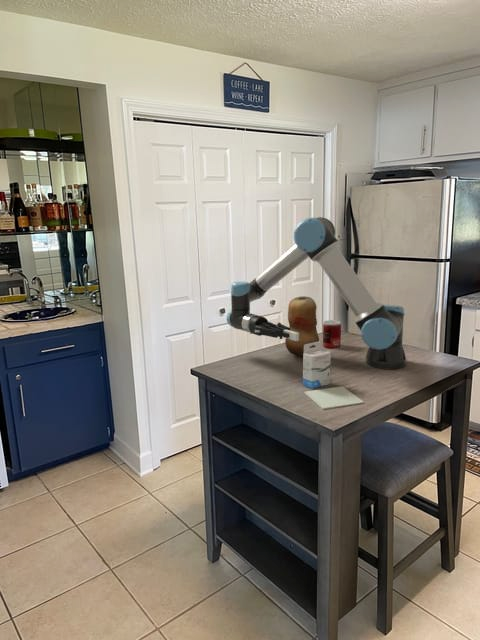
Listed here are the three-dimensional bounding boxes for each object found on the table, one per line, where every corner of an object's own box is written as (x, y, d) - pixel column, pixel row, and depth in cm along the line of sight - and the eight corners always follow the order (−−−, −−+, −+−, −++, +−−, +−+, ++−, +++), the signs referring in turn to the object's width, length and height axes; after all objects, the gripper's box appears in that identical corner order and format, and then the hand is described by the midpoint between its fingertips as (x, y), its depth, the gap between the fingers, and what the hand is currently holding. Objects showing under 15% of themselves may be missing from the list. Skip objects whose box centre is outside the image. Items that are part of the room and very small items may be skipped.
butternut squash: (283, 360, 188) (282, 300, 182) (287, 351, 200) (287, 294, 195) (317, 362, 184) (318, 300, 179) (320, 352, 197) (320, 294, 191)
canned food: (342, 344, 208) (342, 320, 205) (338, 349, 201) (338, 325, 198) (325, 343, 211) (325, 319, 208) (320, 348, 204) (321, 323, 201)
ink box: (312, 389, 157) (312, 347, 154) (302, 385, 161) (302, 344, 158) (330, 384, 162) (331, 343, 158) (320, 380, 166) (321, 340, 162)
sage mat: (342, 387, 158) (342, 386, 158) (364, 403, 145) (364, 402, 145) (304, 392, 154) (304, 391, 154) (322, 409, 141) (322, 408, 141)
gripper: (268, 331, 188) (310, 343, 170) (242, 336, 180) (283, 350, 162) (268, 313, 186) (310, 324, 168) (242, 317, 179) (283, 329, 160)
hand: (297, 337), depth 165 cm, fingers closed
